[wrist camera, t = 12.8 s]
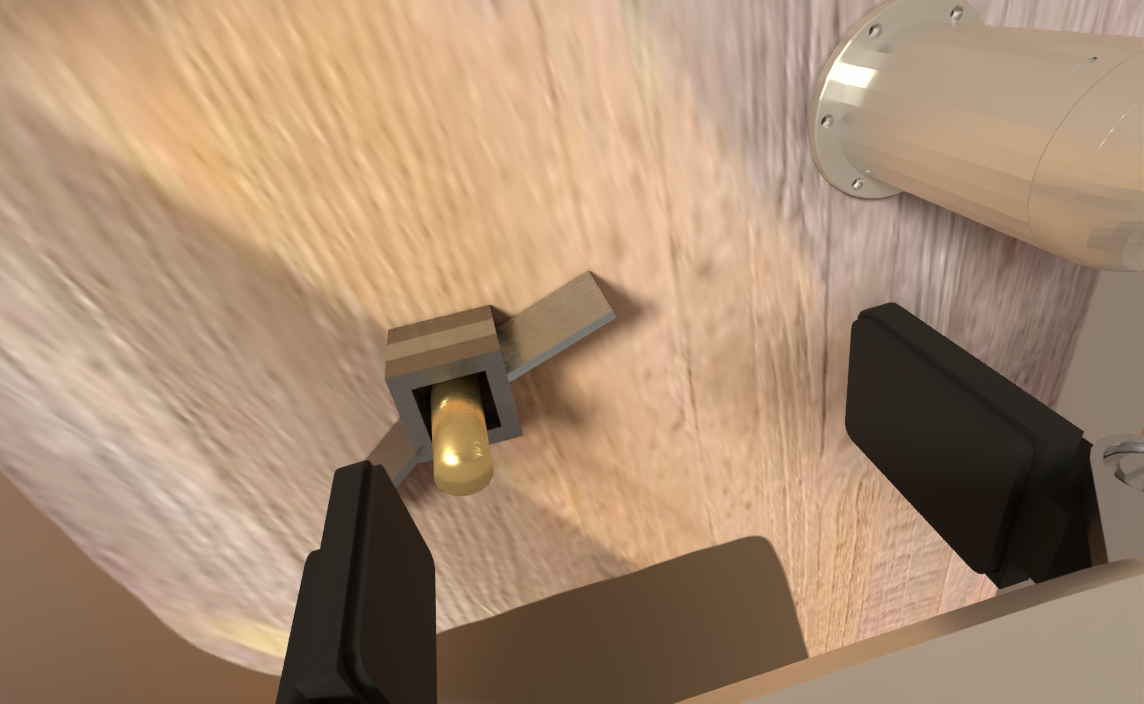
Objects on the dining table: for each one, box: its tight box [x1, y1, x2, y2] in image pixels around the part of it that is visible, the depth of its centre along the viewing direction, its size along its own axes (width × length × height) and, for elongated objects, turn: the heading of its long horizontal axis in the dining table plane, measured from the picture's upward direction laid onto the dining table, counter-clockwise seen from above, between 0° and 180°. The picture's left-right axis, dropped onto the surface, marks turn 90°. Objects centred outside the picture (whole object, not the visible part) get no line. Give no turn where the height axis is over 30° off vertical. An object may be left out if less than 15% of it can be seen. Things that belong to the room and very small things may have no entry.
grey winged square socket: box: [366, 271, 617, 488], centre depth 41 cm, size 21×13×6 cm, turn 99°
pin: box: [430, 373, 493, 496], centre depth 37 cm, size 3×3×12 cm
